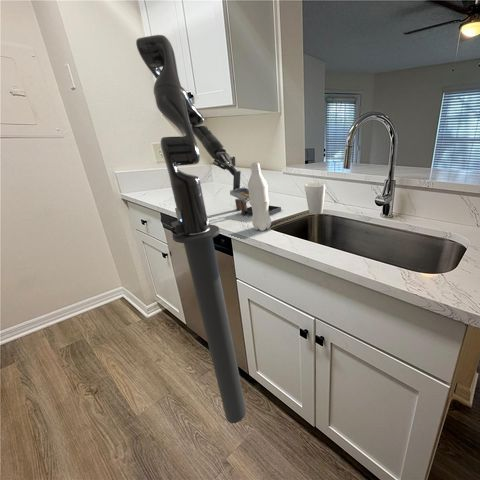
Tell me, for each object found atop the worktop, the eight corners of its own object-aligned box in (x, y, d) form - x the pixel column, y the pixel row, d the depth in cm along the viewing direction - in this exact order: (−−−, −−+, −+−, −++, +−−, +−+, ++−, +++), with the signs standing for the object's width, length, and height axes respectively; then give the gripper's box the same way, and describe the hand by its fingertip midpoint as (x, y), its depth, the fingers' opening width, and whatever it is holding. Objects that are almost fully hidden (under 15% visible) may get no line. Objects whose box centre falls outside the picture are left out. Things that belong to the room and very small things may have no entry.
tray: (281, 210, 125) (281, 207, 124) (264, 217, 115) (264, 213, 115) (259, 207, 131) (258, 203, 131) (241, 213, 122) (241, 209, 121)
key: (250, 195, 125) (250, 195, 125) (247, 196, 124) (247, 195, 124) (242, 192, 127) (242, 191, 127) (239, 193, 126) (239, 192, 125)
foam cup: (307, 216, 116) (306, 187, 111) (304, 210, 125) (303, 183, 119) (328, 214, 118) (327, 185, 113) (323, 209, 126) (323, 182, 121)
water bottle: (260, 233, 98) (252, 164, 88) (249, 229, 102) (240, 163, 92) (275, 227, 103) (269, 162, 93) (264, 224, 107) (257, 161, 97)
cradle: (265, 207, 131) (264, 194, 128) (244, 215, 119) (242, 200, 117) (250, 205, 136) (248, 192, 133) (229, 212, 124) (226, 198, 121)
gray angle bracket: (261, 198, 128) (263, 177, 123) (245, 203, 119) (246, 181, 114) (244, 190, 132) (245, 169, 127) (226, 195, 123) (227, 173, 118)
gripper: (220, 151, 131) (242, 177, 131) (198, 153, 120) (221, 182, 120) (227, 140, 127) (249, 167, 126) (204, 141, 116) (228, 171, 116)
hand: (235, 174), depth 123 cm, fingers closed
